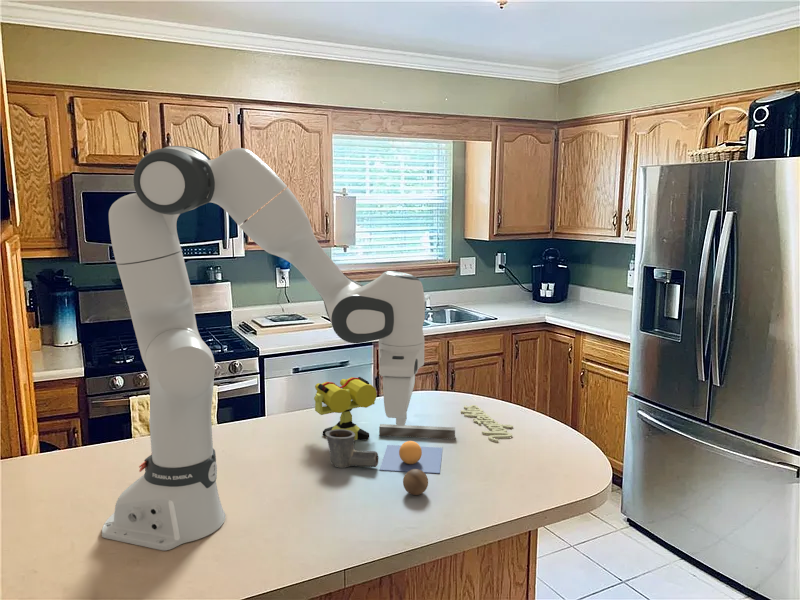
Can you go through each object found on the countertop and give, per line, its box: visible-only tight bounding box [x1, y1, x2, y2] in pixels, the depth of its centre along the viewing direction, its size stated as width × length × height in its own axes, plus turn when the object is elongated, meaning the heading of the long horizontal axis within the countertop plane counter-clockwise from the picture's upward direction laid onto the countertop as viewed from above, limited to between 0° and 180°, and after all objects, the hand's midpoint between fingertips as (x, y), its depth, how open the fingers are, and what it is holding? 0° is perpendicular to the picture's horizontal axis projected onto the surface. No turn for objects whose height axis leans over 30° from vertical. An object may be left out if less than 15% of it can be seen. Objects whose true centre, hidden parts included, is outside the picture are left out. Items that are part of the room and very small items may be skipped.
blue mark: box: [379, 444, 443, 475], centre depth 147 cm, size 14×14×1 cm
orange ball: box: [399, 440, 422, 464], centre depth 145 cm, size 5×5×5 cm
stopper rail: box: [378, 423, 456, 440], centre depth 161 cm, size 20×2×2 cm, turn 84°
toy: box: [313, 376, 377, 441], centre depth 161 cm, size 17×14×15 cm
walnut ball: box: [402, 469, 429, 496], centre depth 130 cm, size 5×5×5 cm
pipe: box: [325, 429, 379, 469], centre depth 143 cm, size 6×13×8 cm, turn 77°
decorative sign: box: [460, 404, 514, 443], centre depth 171 cm, size 26×1×10 cm
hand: (401, 423), depth 120 cm, fingers closed
